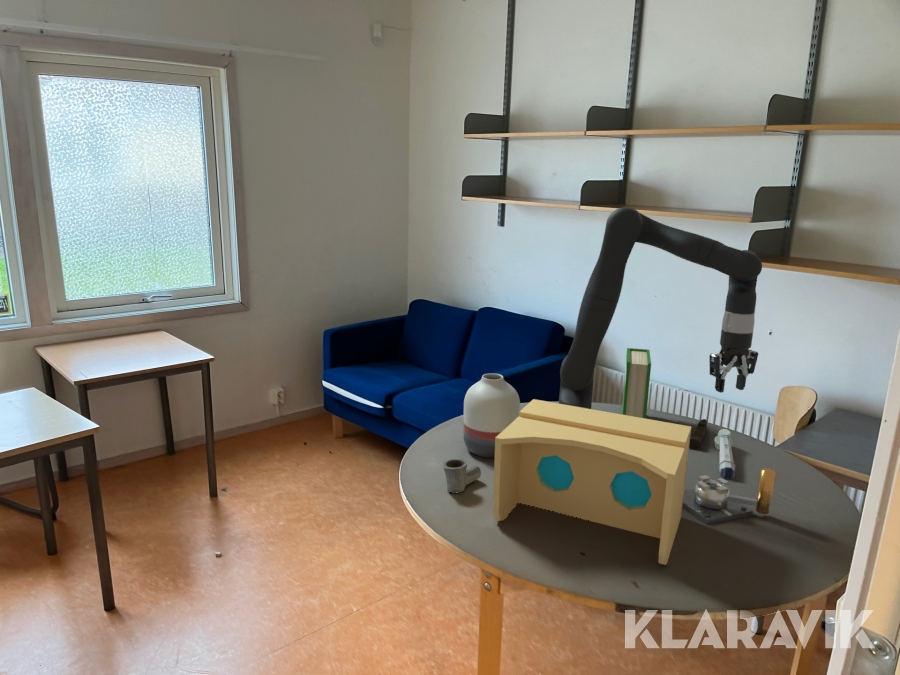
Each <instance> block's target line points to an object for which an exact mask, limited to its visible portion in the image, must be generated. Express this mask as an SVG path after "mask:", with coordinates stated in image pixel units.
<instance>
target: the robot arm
mask: <svg viewBox="0 0 900 675" xmlns="http://www.w3.org/2000/svg"><path fill="white" fill-rule="evenodd" d="M636 243H639V244H642V245H647V246H652V247H654V248H656V249H660V250H662V251H664V252H666V253H667V252H668V253H669V254H672V255H673V256H676V257H678V258H680V259H683V260H685V261H687V262H690V263H694V264H696V265H700V266H702V267H705V268H710V269H713V270H716V271H718V272H720V273H722V274H724V275H727V276H728V289H727V293H726V299H725V306H724V307H725V308H724V312H723V317H722V323H721V331H720V337H719V338H720V339H719V345H720V347H721V348H720V351H719V352H718V353H715V354H714V353H712V352H711V353H710V354H709V375H710V376H712V377H715V382H714V389H715V391H716V392H718V393H720V394H721V393H724V390H725V384H726V377H727V375H728V373H730V372H731V370H732V368H736V371H737V375H736V381H735V382H736V383H735V389H737V390H739V391H744V389H745V387H746V383H747V377H748V376H749V375H750V374H751V375H753V374H754V373H755V369H756V365H757V362H758V357H759V352H758V351H756V350H755V351H754V350H753V349H751V347H752V341H753V336H754V328H755V316H756V315H755V314H756V307H757V306H756V305H757V291H756V289H757V283H758V282H757V281H758V276H760V274H761V272H762V271H763V270H762V269H763V263H762V259H760V257H759V256H758V255H757V253H755V252H754V251H752V250H749V249H744V250H740V249H737V248H734V247H732V246H728V245H726V244H724V243H723V242H721V241H719V240H716V239H712V238H710V237H707V236H703V235H700V234H698V233H694V232H691V231H686V230H684V229H679V228H676V227H673V226H669V225H666V224H664V223H661V222H659V221H657V220H654V219H652V218H651V217H648V216H647V215H644V213H641V212H639V210H637V209H635V208H633V207H630V206H624V207H619V208H617V209H615V210H614V211H613V210H612V212H611V213H610V214H609V215H608V217H607V220H606V223H605V229H604V233H603V239H602V244H601V248H600V252H599V256H598V257H597V261H596V263H595V265H594V268H593V270H592V272H591V274H590V277H589V279H588V281H587V284H586V287H585V290H584V293H583V296H582V299H581V303H580V307H579V309H578V310H579V311H578V316H577V322H576V326H575V332H574V336H573V340H572V344H571V346H570V349H569V351H568V354H567V355H566V356H565V357H564V358H563V360H562V362H561V366H560V370H559V375H560V384H559V385H560V386H559V396H558V404H564V405H570V406H576V407H581V408H587V409H592V405H593V404H592V402H593V390H594V389H593V387H594V377H595V367H596V364H597V360H598V354H599V351H600V347H601V345H602V343H603V340H604V339H605V336H606V334H607V332H608V329H609V327H610V324H611V322H612V320H613V317H614V314H615V312H616V309H617V307H618V304H619V303H618V302H619V300H620V297H621V292H622V289H623V283H624V277H625V271H626V266H627V263H628V260H629V257H630V255H631V253H632V251H633V248H634V247H635V244H636Z"/></svg>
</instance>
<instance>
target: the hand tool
mask: <svg viewBox="0 0 900 675" xmlns="http://www.w3.org/2000/svg"><path fill="white" fill-rule="evenodd" d="M707 428H708V421H707V419H706V418H704V419H700V421H698V422H697V426H696V428H695V429H694V431H693V433H691V435H690V443H689V450H694V451H699V449H700V446H701V443H702V442H703V438H704V437H706V434H707V433H706V432H707Z"/></svg>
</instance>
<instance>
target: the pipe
mask: <svg viewBox="0 0 900 675" xmlns="http://www.w3.org/2000/svg"><path fill="white" fill-rule="evenodd" d="M467 467H468V462H467V461H466V460H465V459H461V458H451V459H446V460H445V461H444V462H443V463H442V469H443V470H444V473H445V474H444V475H445V478H446V490H447V492H449V493H450V492H452V493H451V494H457V493H456V492H459V493H461V492H463V491H465V488H466V486H468V485H470V484H471V483H473V482H474V481H476V480H478V479H480V478H481V476H482V471H481V468H480V466H478V465H473V466H471V467H470V468H468V469H467Z"/></svg>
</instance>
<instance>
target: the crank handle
mask: <svg viewBox="0 0 900 675" xmlns="http://www.w3.org/2000/svg"><path fill="white" fill-rule="evenodd" d="M776 472H777V471H776V470H775V469H773V468H771V467H761V469H760V475H759V481H758V482H759V483H758V489H757V496H756V498H753V497H747V496H741V495H737V494H730V491H731V490H730V487H729V485H730V484H729V480H726V479H725V478H722V477H720V478H717V479H716V480H715V479H711V477H710V476H708V475H707V474H704V475H699V476H698V478H697V479H698V480H697V481H696V483H695V488H694V489H695V497H694V499H695V501H696V502H697V503H699V504H700V505H702V506H705V507H708V508H713V509H721V508H725V507H727V505H728V501H732V502H737V503H741V504H743V505H749V506H753V507H754V506H755V508H754V509H755V510H754V511H755V512H757V513H759V514H761V515H769V514H770V511H771V505H772V498H773V492H774V485H775V479H776Z"/></svg>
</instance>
